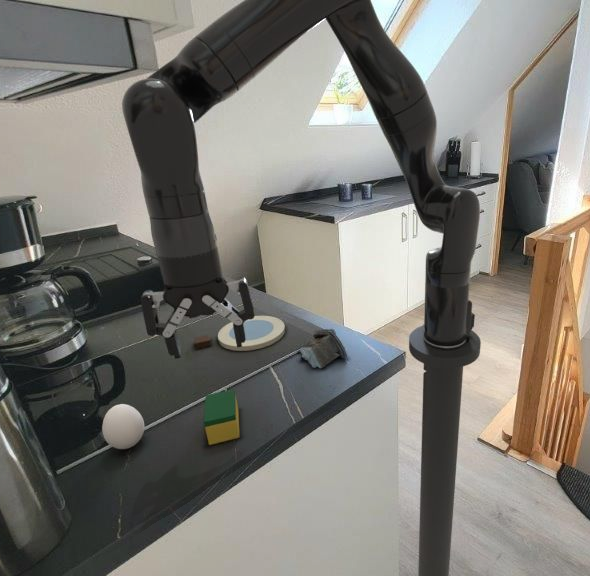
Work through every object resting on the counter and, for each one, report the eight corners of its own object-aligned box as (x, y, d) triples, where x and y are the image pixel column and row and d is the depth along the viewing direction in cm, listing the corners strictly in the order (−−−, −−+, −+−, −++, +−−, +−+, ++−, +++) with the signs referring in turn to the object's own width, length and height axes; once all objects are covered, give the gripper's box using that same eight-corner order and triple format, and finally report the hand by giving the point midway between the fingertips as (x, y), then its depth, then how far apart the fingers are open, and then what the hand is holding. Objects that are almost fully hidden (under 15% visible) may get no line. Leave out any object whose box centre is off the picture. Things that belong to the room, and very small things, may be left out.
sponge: (210, 416, 68) (205, 394, 67) (238, 410, 70) (234, 388, 68) (209, 445, 62) (203, 422, 61) (239, 437, 64) (235, 414, 62)
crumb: (194, 337, 91) (195, 343, 92) (195, 343, 88) (196, 349, 89) (208, 334, 92) (209, 340, 93) (209, 340, 90) (210, 345, 90)
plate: (281, 315, 104) (280, 311, 103) (289, 343, 91) (288, 338, 90) (219, 325, 99) (218, 321, 99) (217, 356, 86) (216, 351, 86)
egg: (128, 461, 60) (114, 421, 57) (101, 453, 61) (86, 414, 58) (156, 436, 64) (145, 398, 61) (130, 430, 66) (118, 392, 63)
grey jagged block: (288, 351, 88) (293, 335, 78) (314, 332, 92) (322, 315, 81) (315, 385, 87) (324, 373, 77) (340, 365, 91) (352, 351, 80)
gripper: (120, 261, 49) (153, 373, 55) (243, 247, 53) (260, 352, 60) (132, 245, 56) (160, 347, 62) (241, 233, 60) (257, 330, 66)
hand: (209, 350), depth 61 cm, fingers open, 8 cm apart
